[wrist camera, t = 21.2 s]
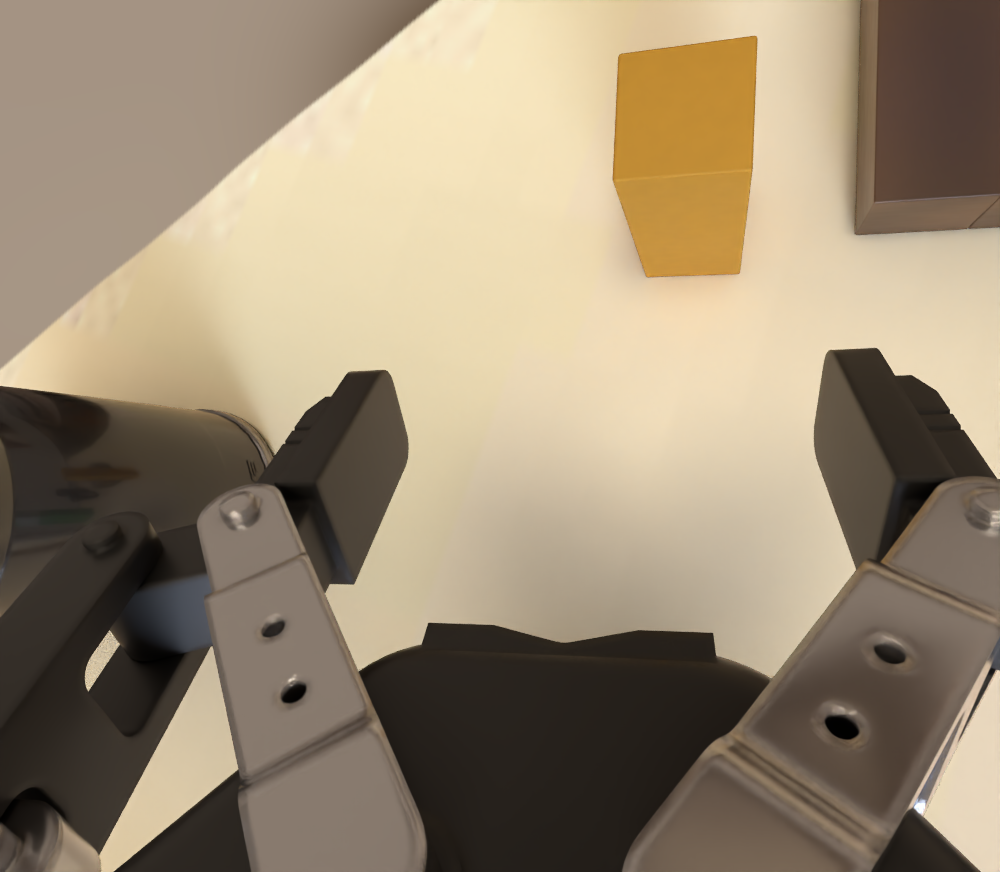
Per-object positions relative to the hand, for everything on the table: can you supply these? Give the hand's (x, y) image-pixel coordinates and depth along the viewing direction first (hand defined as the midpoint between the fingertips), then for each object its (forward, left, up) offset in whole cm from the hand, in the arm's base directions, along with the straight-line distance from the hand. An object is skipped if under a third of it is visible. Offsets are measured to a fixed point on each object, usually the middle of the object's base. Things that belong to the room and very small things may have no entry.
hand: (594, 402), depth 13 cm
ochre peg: (+1, +9, -18) cm, 20 cm away
